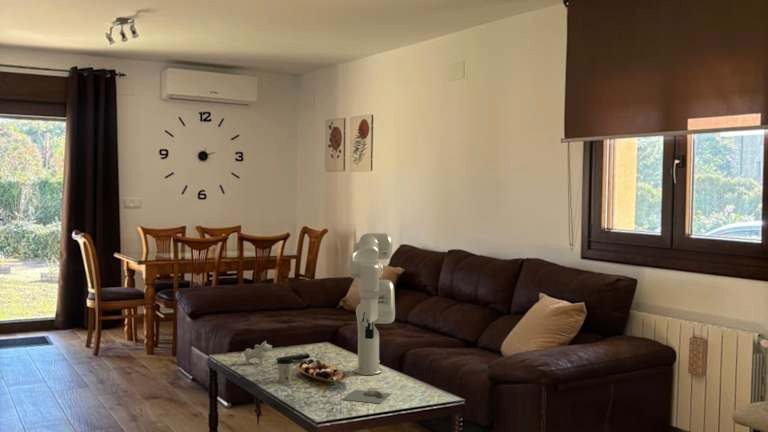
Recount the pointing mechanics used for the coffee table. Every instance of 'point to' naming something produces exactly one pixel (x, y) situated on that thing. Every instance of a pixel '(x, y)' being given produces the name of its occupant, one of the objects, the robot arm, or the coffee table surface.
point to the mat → (365, 397)
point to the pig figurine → (257, 352)
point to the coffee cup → (285, 369)
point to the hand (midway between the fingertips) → (369, 338)
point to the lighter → (375, 392)
